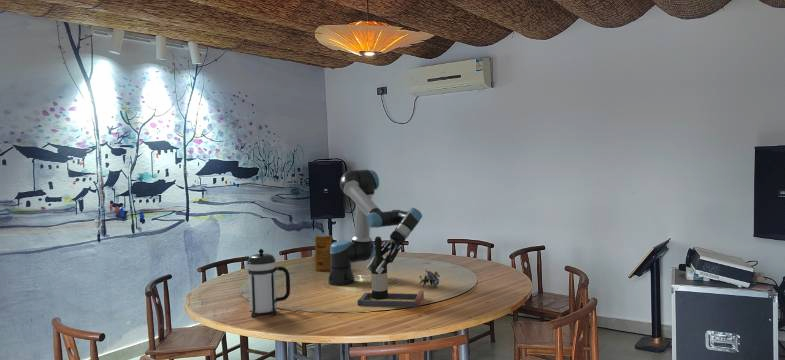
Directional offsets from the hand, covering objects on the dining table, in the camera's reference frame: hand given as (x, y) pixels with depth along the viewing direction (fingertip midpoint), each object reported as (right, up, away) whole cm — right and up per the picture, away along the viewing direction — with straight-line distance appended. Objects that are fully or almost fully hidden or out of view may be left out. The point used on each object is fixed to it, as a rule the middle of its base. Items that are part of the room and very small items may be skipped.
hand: (373, 270), depth 257 cm
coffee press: (-50, -18, -10) cm, 54 cm away
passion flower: (+30, -14, +29) cm, 44 cm away
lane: (+9, -16, +2) cm, 18 cm away
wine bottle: (+3, -14, +2) cm, 14 cm away
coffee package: (-35, -14, +85) cm, 93 cm away
